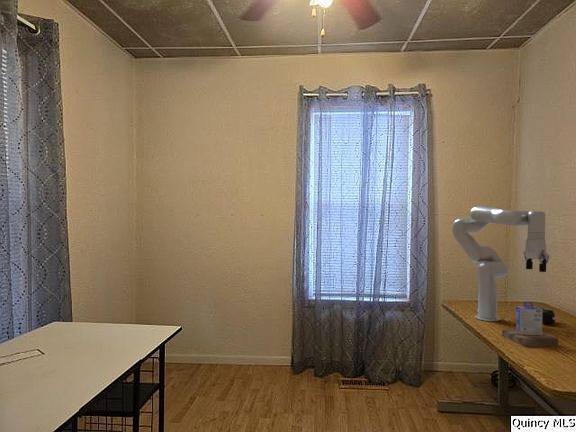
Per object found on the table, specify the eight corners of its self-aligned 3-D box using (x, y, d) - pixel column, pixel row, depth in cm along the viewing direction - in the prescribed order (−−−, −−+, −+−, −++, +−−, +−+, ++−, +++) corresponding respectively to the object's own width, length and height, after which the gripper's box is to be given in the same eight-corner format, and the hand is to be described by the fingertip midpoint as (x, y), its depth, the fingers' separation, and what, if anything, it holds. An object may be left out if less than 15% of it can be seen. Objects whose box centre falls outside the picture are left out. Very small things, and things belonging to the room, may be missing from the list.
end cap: (537, 319, 231) (537, 307, 231) (552, 321, 228) (552, 309, 228) (538, 324, 222) (539, 311, 222) (554, 325, 219) (554, 313, 219)
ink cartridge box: (537, 332, 196) (538, 301, 196) (543, 336, 191) (543, 304, 190) (515, 331, 197) (515, 300, 197) (519, 334, 192) (520, 303, 192)
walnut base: (502, 335, 201) (502, 329, 201) (533, 334, 202) (533, 328, 202) (524, 346, 185) (524, 339, 185) (558, 345, 186) (558, 338, 186)
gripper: (517, 235, 217) (517, 268, 217) (541, 237, 199) (540, 273, 200) (531, 235, 217) (531, 268, 217) (556, 237, 200) (555, 272, 200)
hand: (535, 270), depth 209 cm, fingers open, 9 cm apart
